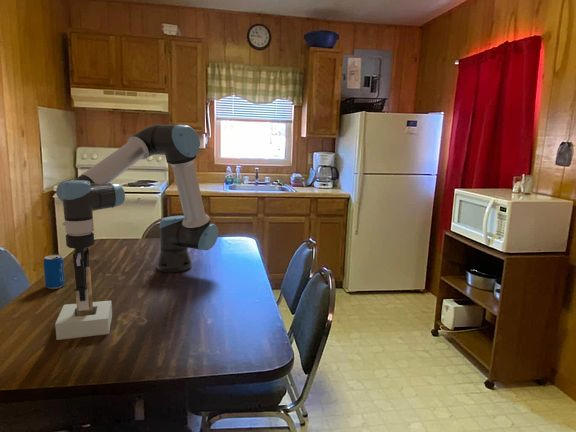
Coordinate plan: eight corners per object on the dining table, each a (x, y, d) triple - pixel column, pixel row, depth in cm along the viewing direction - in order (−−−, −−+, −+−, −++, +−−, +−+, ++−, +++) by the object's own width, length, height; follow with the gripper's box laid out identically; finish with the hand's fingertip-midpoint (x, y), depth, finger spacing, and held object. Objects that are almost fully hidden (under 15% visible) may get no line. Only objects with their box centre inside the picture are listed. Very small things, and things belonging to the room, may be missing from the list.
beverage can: (56, 290, 157) (54, 260, 154) (41, 288, 158) (39, 258, 155) (68, 284, 163) (66, 255, 160) (54, 282, 164) (51, 253, 162)
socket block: (112, 314, 138) (111, 300, 137) (108, 333, 125) (108, 318, 124) (65, 319, 134) (63, 304, 133) (56, 339, 121) (55, 323, 120)
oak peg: (94, 314, 132) (91, 266, 128) (92, 320, 127) (89, 270, 124) (78, 315, 130) (75, 267, 127) (76, 322, 126) (72, 271, 123)
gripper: (70, 226, 130) (75, 297, 135) (60, 241, 114) (66, 320, 119) (96, 225, 133) (100, 294, 137) (90, 239, 117) (95, 317, 121)
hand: (84, 306), depth 128 cm, fingers closed on oak peg, 4 cm apart
